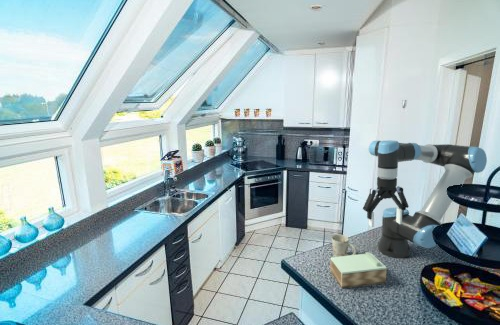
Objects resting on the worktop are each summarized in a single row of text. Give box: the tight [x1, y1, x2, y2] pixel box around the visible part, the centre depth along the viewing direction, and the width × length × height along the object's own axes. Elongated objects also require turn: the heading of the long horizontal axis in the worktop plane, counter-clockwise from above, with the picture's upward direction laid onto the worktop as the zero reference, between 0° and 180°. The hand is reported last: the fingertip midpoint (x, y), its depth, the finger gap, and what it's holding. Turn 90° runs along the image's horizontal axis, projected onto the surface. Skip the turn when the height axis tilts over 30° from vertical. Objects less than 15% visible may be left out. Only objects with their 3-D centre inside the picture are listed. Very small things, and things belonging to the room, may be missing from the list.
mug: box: [331, 234, 357, 257], centre depth 135 cm, size 8×13×10 cm, turn 51°
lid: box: [330, 251, 388, 274], centre depth 118 cm, size 20×12×2 cm, turn 96°
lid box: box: [329, 259, 387, 289], centre depth 119 cm, size 20×12×6 cm, turn 96°
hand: (384, 224), depth 116 cm, fingers open, 12 cm apart
